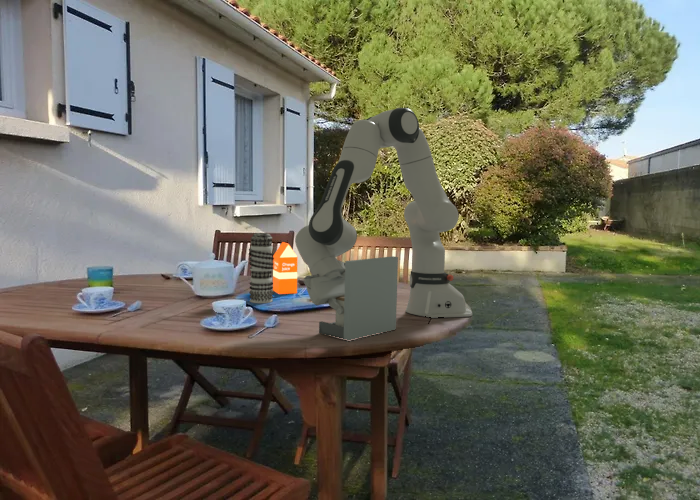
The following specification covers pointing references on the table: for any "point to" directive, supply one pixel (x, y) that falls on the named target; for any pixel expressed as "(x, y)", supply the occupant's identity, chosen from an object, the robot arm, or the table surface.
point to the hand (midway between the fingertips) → (350, 311)
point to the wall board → (367, 299)
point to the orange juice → (285, 270)
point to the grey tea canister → (340, 317)
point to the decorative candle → (261, 268)
